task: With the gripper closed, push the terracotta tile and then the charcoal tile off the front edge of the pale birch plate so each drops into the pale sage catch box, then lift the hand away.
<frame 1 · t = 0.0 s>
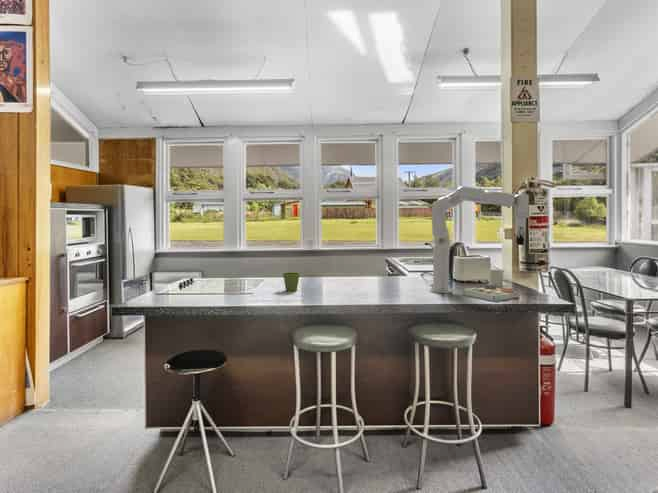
hand: (520, 244, 242), 31 cm above the countertop, tool pointing down, fingers open, 9 cm apart
birch plate: (496, 295, 247), on the countertop
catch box: (484, 297, 242), on the countertop
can: (495, 286, 278), on the countertop
terracotta tile: (507, 291, 243), point 3 cm above the countertop, touching birch plate
plant pot: (291, 290, 266), on the countertop
charcoal tile: (490, 288, 253), point 3 cm above the countertop, touching birch plate
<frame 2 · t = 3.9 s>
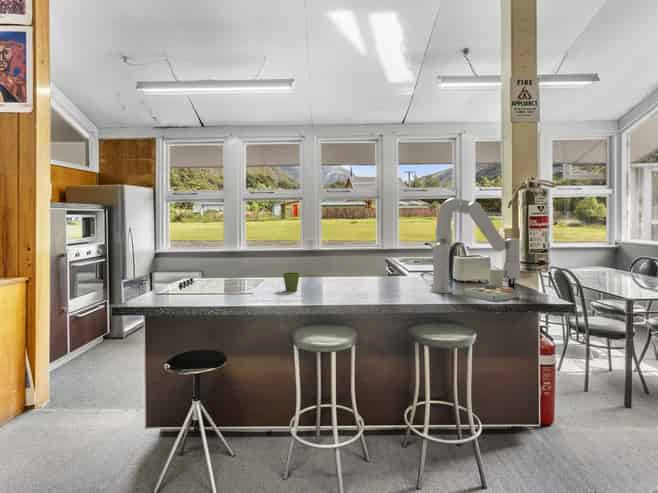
hand: (511, 289, 244), 4 cm above the countertop, tool pointing down, fingers closed
terracotta tile: (506, 291, 242), point 3 cm above the countertop, touching gripper
everything else where it was.
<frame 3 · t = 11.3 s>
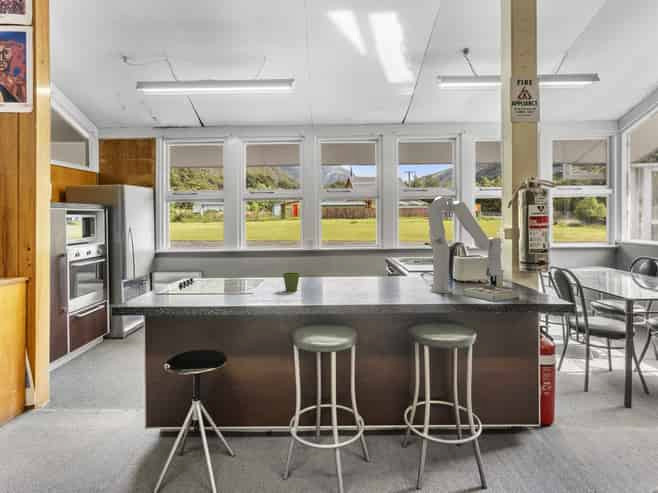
hand: (493, 286, 254), 4 cm above the countertop, tool pointing down, fingers closed
terracotta tile: (493, 294, 235), point 3 cm above the countertop, tilted 180°, touching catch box
charcoal tile: (488, 288, 252), point 3 cm above the countertop, touching birch plate, gripper
everything else where it was.
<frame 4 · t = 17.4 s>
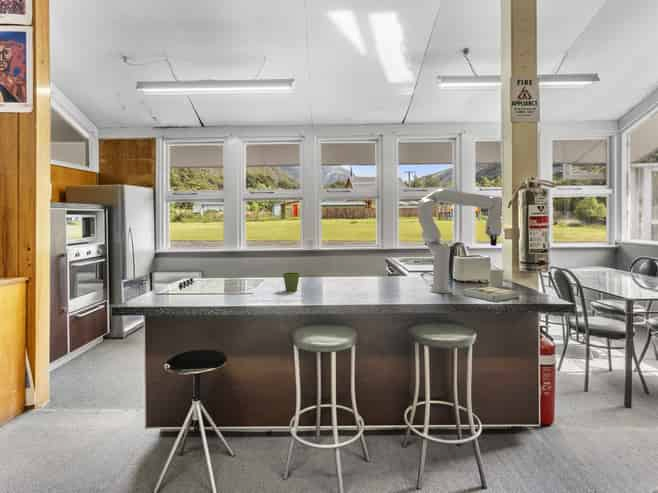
hand: (493, 245, 259), 29 cm above the countertop, tool pointing down, fingers closed
charcoal tile: (474, 290, 246), point 3 cm above the countertop, tilted 180°, touching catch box
everything else where it was.
at the end: terracotta tile inside the target area (7.1 cm from its centre), point 3.0 cm above the countertop; charcoal tile inside the target area (6.0 cm from its centre), point 3.0 cm above the countertop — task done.
